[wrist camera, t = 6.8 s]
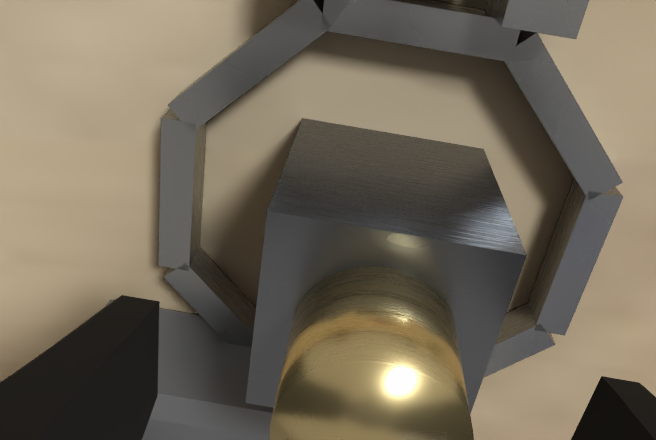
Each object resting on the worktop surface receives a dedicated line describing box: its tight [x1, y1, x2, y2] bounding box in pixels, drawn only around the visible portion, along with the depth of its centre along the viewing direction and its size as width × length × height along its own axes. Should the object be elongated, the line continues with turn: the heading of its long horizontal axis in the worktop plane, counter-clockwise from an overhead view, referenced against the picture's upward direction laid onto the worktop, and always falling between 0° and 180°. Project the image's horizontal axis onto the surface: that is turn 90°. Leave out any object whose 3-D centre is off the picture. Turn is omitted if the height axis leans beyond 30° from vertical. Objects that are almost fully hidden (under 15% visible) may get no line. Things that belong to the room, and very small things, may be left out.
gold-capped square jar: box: [245, 118, 527, 440], centre depth 12 cm, size 4×4×8 cm
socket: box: [158, 0, 623, 378], centre depth 14 cm, size 11×12×2 cm
